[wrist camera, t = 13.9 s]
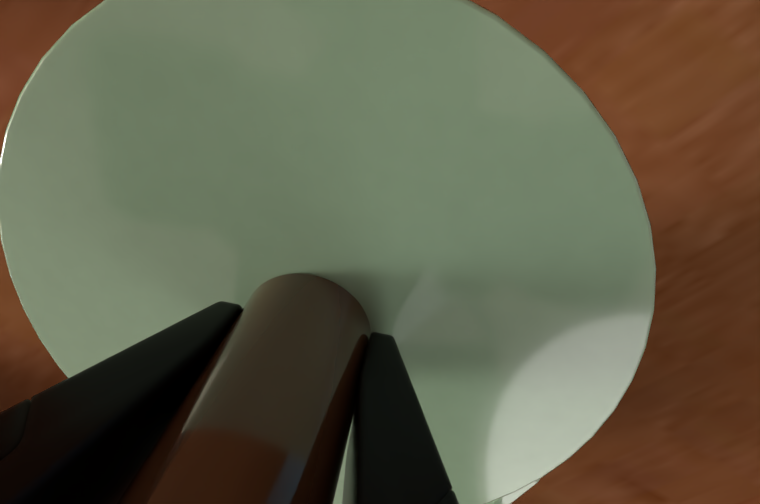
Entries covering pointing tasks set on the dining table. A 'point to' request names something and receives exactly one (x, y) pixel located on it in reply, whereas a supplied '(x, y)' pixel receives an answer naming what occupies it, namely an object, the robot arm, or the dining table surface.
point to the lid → (330, 233)
